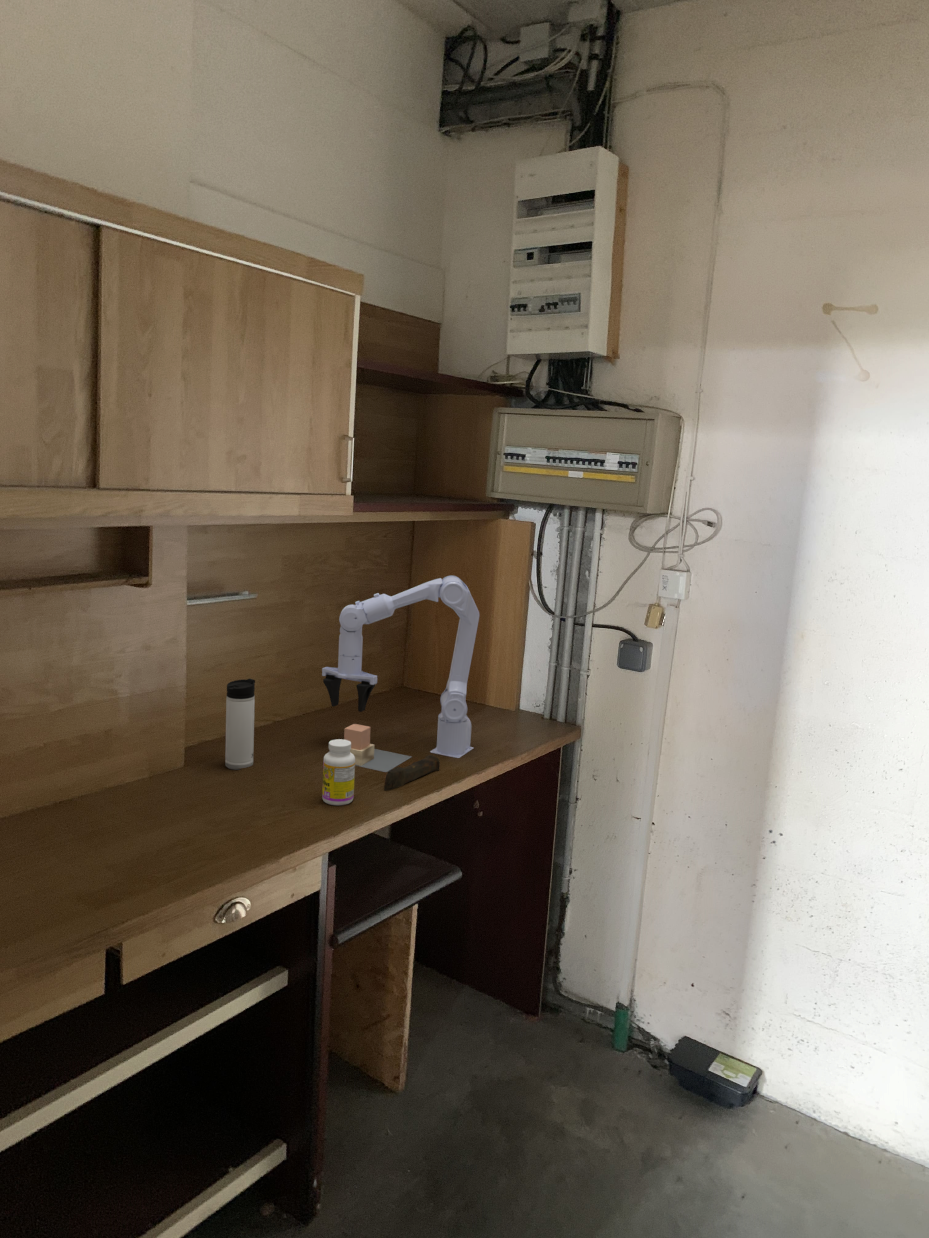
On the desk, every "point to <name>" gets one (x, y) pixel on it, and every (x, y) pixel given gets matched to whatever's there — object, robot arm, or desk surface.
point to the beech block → (363, 755)
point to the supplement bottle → (338, 773)
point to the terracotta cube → (357, 736)
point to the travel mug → (240, 724)
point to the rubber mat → (385, 760)
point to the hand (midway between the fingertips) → (348, 708)
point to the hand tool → (410, 772)
